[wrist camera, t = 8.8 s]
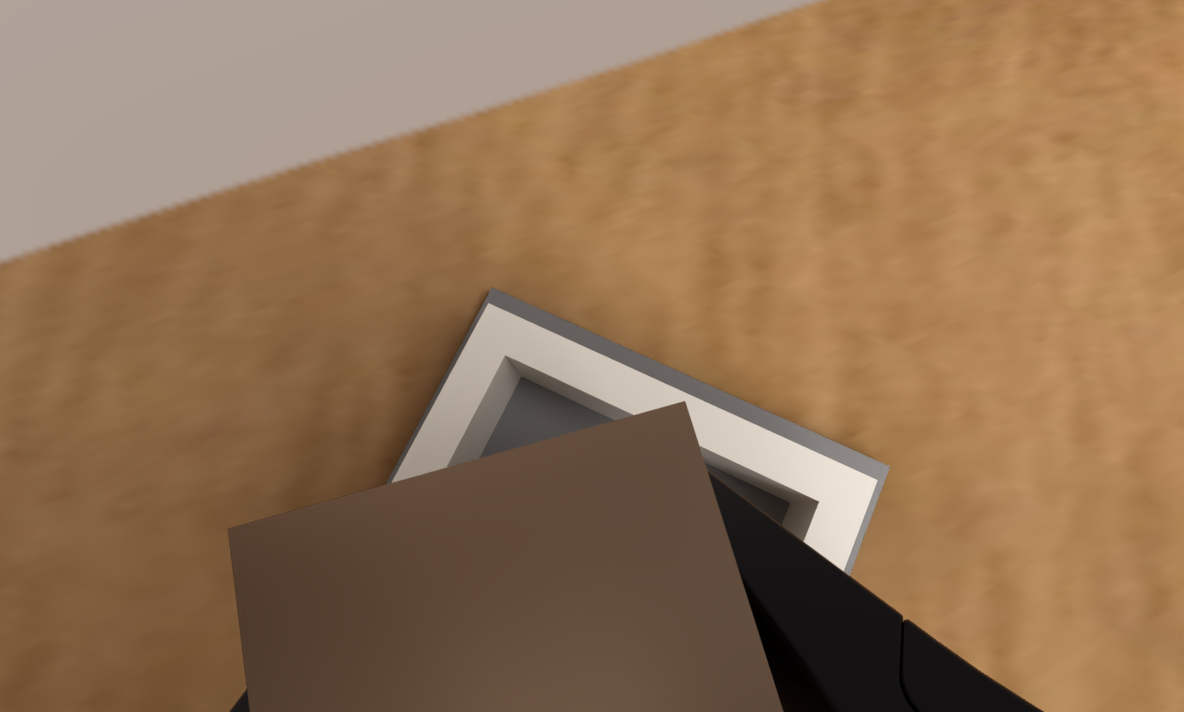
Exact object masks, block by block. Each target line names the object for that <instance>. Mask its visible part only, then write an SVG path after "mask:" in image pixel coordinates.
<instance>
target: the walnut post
mask: <svg viewBox="0 0 1184 712" xmlns="http://www.w3.org/2000/svg"><path fill="white" fill-rule="evenodd" d="M228 535H229V543H230V551H231V560H232V568H233V576H234V585H235V593H236V601H237V610H238V618H239V626H240V634H241V643H242V651H243V659H244V668H245V676H246V684H247V692H248V701H249V709H250V712H783V709H782V706H781V703H780V699H779V696H778V693H777V690H776V687H775V684H774V680H773V677H772V674H771V671H770V668H769V665H768V661H767V658H766V655H765V652H764V649H763V646H762V642H761V639H760V636H759V633H758V630H757V627H756V623H755V620H754V617H753V614H752V611H751V608H750V604H749V601H748V598H747V595H746V592H745V589H744V585H743V582H742V579H741V576H740V573H739V570H738V566H737V563H736V560H735V557H734V554H733V551H732V547H731V544H730V541H729V538H728V535H727V532H726V528H725V525H724V522H723V519H722V516H721V513H720V509H719V506H718V503H717V500H716V497H715V494H714V490H713V487H712V484H711V481H710V478H709V475H708V471H707V468H706V465H705V462H704V459H703V456H702V452H701V449H700V446H699V443H698V440H697V437H696V433H695V430H694V427H693V424H692V421H691V418H690V414H689V411H688V408H687V405H686V402H685V401H683V402H679V403H676V404H672V405H669V406H665V407H661V408H658V409H654V410H651V411H647V412H644V413H640V414H636V415H633V416H629V417H626V418H622V419H618V420H615V421H611V422H608V423H604V424H601V425H597V426H593V427H590V428H586V429H583V430H579V431H576V432H572V433H568V434H565V435H561V436H558V437H554V438H551V439H547V440H543V441H540V442H536V443H533V444H529V445H526V446H522V447H518V448H515V449H511V450H508V451H504V452H500V453H497V454H493V455H490V456H486V457H483V458H479V459H475V460H472V461H468V462H465V463H461V464H458V465H454V466H450V467H447V468H443V469H440V470H436V471H433V472H429V473H425V474H422V475H418V476H415V477H411V478H408V479H404V480H400V481H397V482H393V483H390V484H386V485H383V486H379V487H375V488H372V489H368V490H365V491H361V492H357V493H354V494H350V495H347V496H343V497H340V498H336V499H332V500H329V501H325V502H322V503H318V504H315V505H311V506H307V507H304V508H300V509H297V510H293V511H290V512H286V513H282V514H279V515H275V516H272V517H268V518H265V519H261V520H257V521H254V522H250V523H247V524H243V525H239V526H236V527H232V528H229V529H228Z"/></svg>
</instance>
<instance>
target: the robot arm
mask: <svg viewBox="0 0 1184 712" xmlns="http://www.w3.org/2000/svg"><path fill="white" fill-rule="evenodd" d="M707 471H708V470H707ZM708 475H709V478H710V481H711V484H712V487H713V490H714V494H715V497H716V500H717V503H718V506H719V509H720V513H721V516H722V519H723V522H724V525H725V528H726V532H727V535H728V538H729V541H730V544H731V547H732V551H733V554H734V557H735V560H736V563H737V566H738V570H739V573H740V576H741V579H742V582H743V585H744V589H745V592H746V595H747V598H748V601H749V604H750V608H751V611H752V614H753V617H754V620H755V623H756V627H757V630H758V633H759V636H760V639H761V642H762V646H763V649H764V652H765V655H766V658H767V661H768V665H769V668H770V671H771V674H772V677H773V680H774V684H775V687H776V690H777V693H778V696H779V699H780V703H781V706H782V709H783V712H1044V711H1042V710H1040V709H1039V708H1037V707H1035V706H1034V705H1032V704H1031V703H1029V702H1028V701H1026V700H1025V699H1023V698H1021V697H1020V696H1018V695H1017V694H1015V693H1014V692H1012V691H1010V690H1009V689H1007V688H1006V687H1004V686H1003V685H1001V684H999V683H998V682H996V681H995V680H993V679H992V678H990V677H988V676H987V675H985V674H984V673H982V672H981V671H979V670H978V669H977V668H975V667H974V666H972V665H971V664H969V663H968V662H967V661H965V660H964V659H962V658H961V657H960V656H958V655H957V654H955V653H954V652H952V651H951V650H950V649H948V648H947V647H945V646H944V645H943V644H941V643H940V642H938V641H937V640H936V639H934V638H933V637H932V636H930V635H929V634H928V633H926V632H925V631H924V630H922V629H921V628H920V627H918V626H917V625H916V624H914V623H913V622H912V621H910V620H908V619H906V620H904V622H903V616H902V615H901V614H900V613H899V612H898V611H896V610H895V609H894V608H892V607H891V606H890V605H888V604H887V603H886V602H884V601H883V600H882V599H880V598H879V597H877V596H876V595H875V594H873V593H872V592H871V591H869V590H868V589H867V588H865V587H864V586H863V585H861V584H860V583H859V582H857V581H856V580H855V579H853V578H852V577H851V576H849V575H848V574H847V573H845V572H844V571H843V570H841V569H840V568H838V567H837V566H836V565H834V564H833V563H832V562H830V561H829V560H828V559H826V558H825V557H824V556H822V555H821V554H820V553H818V552H817V551H816V550H814V549H813V548H812V547H810V546H809V545H808V544H806V543H805V542H803V541H802V540H801V539H799V538H798V537H797V536H795V535H794V534H793V533H791V532H790V531H789V530H787V529H786V528H785V527H783V526H782V525H781V524H779V523H778V522H777V521H775V520H774V519H773V518H771V517H770V516H768V515H767V514H766V513H764V512H763V511H762V510H760V509H759V508H758V507H756V506H755V505H754V504H752V503H751V502H750V501H748V500H747V499H746V498H744V497H743V496H742V495H740V494H739V493H738V492H736V491H735V490H733V489H732V488H731V487H729V486H728V485H727V484H725V483H724V482H723V481H721V480H720V479H719V478H717V477H716V476H715V475H713V474H712V473H711V472H709V471H708ZM230 712H250V709H249V701H248V692H247V689H246V691H245V692H244V693H243V695H242V696H241V697H240V699H239V700H238V701H237V702H236V704H235V705H234V706H233V708H232V709H231V710H230Z"/></svg>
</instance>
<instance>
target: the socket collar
mask: <svg viewBox="0 0 1184 712" xmlns="http://www.w3.org/2000/svg"><path fill="white" fill-rule="evenodd" d="M683 401H685V402H686V405H687V408H688V411H689V414H690V418H691V421H692V424H693V427H694V430H695V433H696V437H697V440H698V443H699V446H700V449H701V452H702V456H703V459H704V462H705V465H706V468H707V470H708V471H709V472H711V473H712V474H713V475H715V476H716V477H717V478H719V479H720V480H721V481H723V482H724V483H725V484H727V485H728V486H729V487H731V488H732V489H733V490H735V491H736V492H738V493H739V494H740V495H742V496H743V497H744V498H746V499H747V500H748V501H750V502H751V503H752V504H754V505H755V506H756V507H758V508H759V509H760V510H762V511H763V512H764V513H766V514H767V515H768V516H770V517H771V518H773V519H774V520H775V521H777V522H778V523H779V524H781V525H782V526H783V527H785V528H786V529H787V530H789V531H790V532H791V533H793V534H794V535H795V536H797V537H798V538H799V539H801V540H802V541H803V542H805V543H806V544H808V545H809V546H810V547H812V548H813V549H814V550H816V551H817V552H818V553H820V554H821V555H822V556H824V557H825V558H826V559H828V560H829V561H830V562H832V563H833V564H834V565H836V566H837V567H838V568H840V569H841V570H843V571H844V572H845V573H847V574H848V575H850V573H851V570H852V567H853V565H854V562H855V559H856V557H857V554H858V551H859V549H860V546H861V543H862V540H863V538H864V535H865V532H866V530H867V527H868V524H869V522H870V519H871V516H872V514H873V511H874V508H875V506H876V503H877V500H878V497H879V495H880V492H881V489H882V487H883V484H884V481H885V479H886V476H887V473H888V471H889V468H890V466H888V465H885V464H883V463H881V462H879V461H877V460H874V459H872V458H870V457H868V456H865V455H863V454H861V453H859V452H857V451H854V450H852V449H850V448H848V447H845V446H843V445H841V444H839V443H837V442H834V441H832V440H830V439H828V438H825V437H823V436H821V435H819V434H817V433H814V432H812V431H810V430H808V429H805V428H803V427H801V426H799V425H797V424H794V423H792V422H790V421H788V420H785V419H783V418H781V417H779V416H777V415H774V414H772V413H770V412H768V411H765V410H763V409H761V408H759V407H757V406H754V405H752V404H750V403H748V402H746V401H743V400H741V399H739V398H737V397H734V396H732V395H730V394H728V393H726V392H723V391H721V390H719V389H717V388H714V387H712V386H710V385H708V384H706V383H703V382H701V381H699V380H697V379H694V378H692V377H690V376H688V375H686V374H683V373H681V372H679V371H677V370H674V369H672V368H670V367H668V366H666V365H663V364H661V363H659V362H657V361H654V360H652V359H650V358H648V357H646V356H643V355H641V354H639V353H637V352H634V351H632V350H630V349H628V348H626V347H623V346H621V345H619V344H617V343H614V342H612V341H610V340H608V339H606V338H603V337H601V336H599V335H597V334H594V333H592V332H590V331H588V330H586V329H583V328H581V327H579V326H577V325H575V324H572V323H570V322H568V321H566V320H563V319H561V318H559V317H557V316H555V315H552V314H550V313H548V312H546V311H543V310H541V309H539V308H537V307H535V306H532V305H530V304H528V303H526V302H523V301H521V300H519V299H517V298H515V297H512V296H510V295H508V294H506V293H503V292H501V291H499V290H497V289H495V288H491V290H490V292H489V294H488V296H487V298H486V300H485V301H484V303H483V305H482V307H481V309H480V311H479V313H478V314H477V316H476V318H475V320H474V322H473V324H472V325H471V327H470V329H469V331H468V333H467V335H466V337H465V338H464V340H463V342H462V344H461V346H460V348H459V349H458V351H457V353H456V355H455V357H454V359H453V361H452V362H451V364H450V366H449V368H448V370H447V372H446V373H445V375H444V377H443V379H442V381H441V383H440V385H439V386H438V388H437V390H436V392H435V394H434V396H433V398H432V399H431V401H430V403H429V405H428V407H427V409H426V410H425V412H424V414H423V416H422V418H421V420H420V422H419V423H418V425H417V427H416V429H415V431H414V433H413V434H412V436H411V438H410V440H409V442H408V444H407V446H406V447H405V449H404V451H403V453H402V455H401V457H400V458H399V460H398V462H397V464H396V466H395V468H394V470H393V471H392V473H391V475H390V477H389V479H388V481H387V482H386V484H390V483H393V482H397V481H400V480H404V479H408V478H411V477H415V476H418V475H422V474H425V473H429V472H433V471H436V470H440V469H443V468H447V467H450V466H454V465H458V464H461V463H465V462H468V461H472V460H475V459H479V458H483V457H486V456H490V455H493V454H497V453H500V452H504V451H508V450H511V449H515V448H518V447H522V446H526V445H529V444H533V443H536V442H540V441H543V440H547V439H551V438H554V437H558V436H561V435H565V434H568V433H572V432H576V431H579V430H583V429H586V428H590V427H593V426H597V425H601V424H604V423H608V422H611V421H615V420H618V419H622V418H626V417H629V416H633V415H636V414H640V413H644V412H647V411H651V410H654V409H658V408H661V407H665V406H669V405H672V404H676V403H679V402H683ZM386 484H385V485H386Z"/></svg>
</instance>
